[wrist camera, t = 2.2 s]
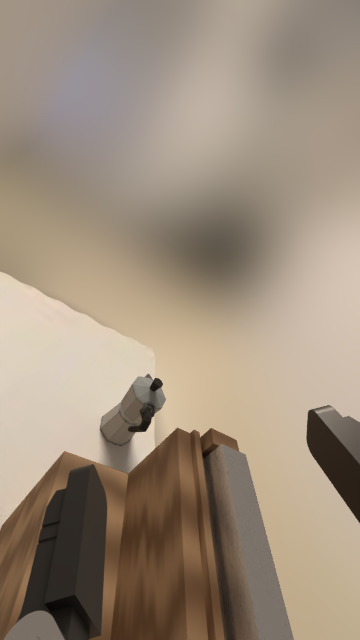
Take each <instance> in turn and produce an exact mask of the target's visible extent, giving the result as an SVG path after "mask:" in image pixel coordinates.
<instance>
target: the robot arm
mask: <svg viewBox="0 0 360 640" xmlns="http://www.w3.org/2000/svg"><path fill="white" fill-rule="evenodd" d="M307 444H308V447H309V450H310V452H311V454H312V456H313V457H314V459H315V460H316V461H317V463H318V464H319V466H320V467H321V468H322V470H323V471H324V473H325V474H326V476H327V477H328V478H329V480H330V481H331V483H332V484H333V486H334V487H335V488H336V490H337V491H338V493H339V494H340V496H341V497H342V498H343V500H344V501H345V503H346V504H347V506H348V507H349V508H350V510H351V511H352V513H353V514H354V515H355V517H356V518H357V520H358V521H359V522H360V422H358V421H356V420H355V419H353V418H351V417H349V416H347V417H344V418H343V417H342V416H341V415H340V414H339V413H338V412H337V411H336V410H335V409H334V408H333V407H332V406H330V405H327V406H324V407H320V408H316V409H312V410H309V412H308V422H307ZM106 526H107V498H106V493H105V490H104V487H103V485H102V482H101V480H100V477H99V475H98V472H97V470H96V468H95V466H94V464H90V465H86V466H82V467H79V468H75V469H71V470H70V472H69V476H68V481H67V487H66V488H65V489H61V490H57V491H56V492H55V494H54V495H53V497H52V499H51V500H50V502H49V504H48V505H47V507H46V511H45V515H44V519H43V523H42V529H41V531H40V536H39V540H38V542H39V543H38V545H37V548H36V552H35V556H34V561H33V565H32V569H31V573H30V577H29V581H28V585H27V590H26V594H25V598H24V602H23V606H22V609H21V613H20V615H19V618H18V620H17V622H16V624H15V625H14V626H13V627H12V628H11V629H10V631H9V632H8V634H7V635H6V636H5V638H4V640H89V639H91V638H95V637H98V636H101V626H102V606H103V586H104V566H105V546H106Z"/></svg>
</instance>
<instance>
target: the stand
mask: <svg viewBox="0 0 360 640" xmlns="http://www.w3.org/2000/svg"><path fill="white" fill-rule="evenodd" d="M221 444H223V445H226V446H228V447H230V448H232V449H234V450H237V451H239V449H238V445H237V441H236V440H235V439H233V438H231V437H229V436H227V435H225V434H222V433H220V432H218V431H216V430H214V429H212V428H211V429H209V430H208V431H207V432H206V433H205V434H204V435H203V436H201V437H200V434H199V432H198V431H196V430H193V431H192V432H191V433H188V432H186V431H183V430H181V429H179V428H177V429H176V430H175V431H173V433H171V434H170V435H169V436H168V437H167V438H166V439H165V440H164V441H163V442H162V443H161V444H160V445H159V446H158V447H156V448H155V449H154V450H153V451H152V452H151V453H150V454H149V455H148V456H147V457H146V458H145V459H144V460H143V461H142V462H140V463H139V464H138V465H137V466H136V467H135V468H134V469H133V470H132V471H131V472H130V473H129V474H127V473H124V472H121V471H118V470H116V469H113V468H110V467H107V466H104V465H102V464H99V463H96V462H93V461H91V460H88V459H85V458H82V457H79V456H77V455H74V454H71V453H68V452H65V451H64V452H63V453H62V455H61V456H60V457H59V458H58V459H57V461H56V462H55V463H54V464H53V465H52V467H51V468H50V469H49V470H48V471H47V472H46V474H45V475H44V476H43V477H42V478H41V480H40V481H39V482H38V483H37V484H36V486H35V487H34V488H33V489H32V490H31V492H30V493H29V494H28V495H27V496H26V498H25V499H24V500H23V501H22V502H21V504H20V505H19V506H18V507H17V508H16V509H15V511H14V512H13V513H12V514H11V515H10V517H9V518H8V519H7V520H6V521H5V523H4V524H3V526H2V528H1V530H0V640H4V638H5V636H6V635H7V634H8V632H9V631H10V629H11V628H12V627H13V626H14V625H15V624H16V622H17V620H18V618H19V615H20V613H21V609H22V606H23V602H24V598H25V594H26V590H27V585H28V581H29V577H30V573H31V569H32V565H33V561H34V556H35V552H36V548H37V545H38V543H39V542H38V540H39V536H40V531H41V529H42V523H43V519H44V515H45V511H46V507H47V505H48V504H49V502H50V500H51V499H52V497H53V495H54V494H55V492H56V491H57V490H61V489H65V488H66V487H67V481H68V476H69V472H70V470H71V469H75V468H79V467H82V466H86V465H90V464H94V466H95V468H96V470H97V472H98V475H99V477H100V480H101V482H102V485H103V487H104V490H105V493H106V498H107V526H106V546H105V566H104V586H103V606H102V626H101V636H98V637H95V638H91V639H89V640H224V631H223V623H222V615H221V607H220V598H219V590H218V582H217V574H216V566H215V557H214V549H213V541H212V533H211V524H210V516H209V508H208V500H207V492H206V483H205V475H204V467H203V459H204V458H205V457H206V456H208V455H209V454H210V453H211V452H213V451H214V450H215V449H216V448H217V447H219V446H220V445H221Z"/></svg>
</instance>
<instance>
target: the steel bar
mask: <svg viewBox="0 0 360 640" xmlns="http://www.w3.org/2000/svg"><path fill="white" fill-rule="evenodd" d="M203 467H204V475H205V483H206V492H207V500H208V508H209V516H210V524H211V533H212V541H213V549H214V557H215V566H216V574H217V582H218V590H219V598H220V607H221V615H222V623H223V631H224V640H294V639H293V635H292V631H291V627H290V623H289V619H288V616H287V612H286V608H285V604H284V600H283V597H282V593H281V589H280V585H279V581H278V577H277V574H276V570H275V566H274V562H273V558H272V554H271V551H270V547H269V543H268V539H267V535H266V531H265V527H264V524H263V520H262V516H261V512H260V508H259V505H258V501H257V497H256V493H255V489H254V485H253V481H252V478H251V474H250V470H249V466H248V462H247V458H246V455H245V454H243V453H241V452H239V451H237V450H234V449H232V448H230V447H228V446H226V445H223V444H221V445H220V446H219V447H217V448H216V449H215V450H214V451H213V452H211V453H210V454H209V455H208V456H206V457H205V458H204V459H203Z"/></svg>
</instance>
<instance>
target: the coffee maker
mask: <svg viewBox="0 0 360 640" xmlns="http://www.w3.org/2000/svg"><path fill="white" fill-rule="evenodd" d="M162 385H163V383H162V381H161V380H160V379H158V378H155V379H154V381H153V379H152V378H151V376H150V375H149V374H147V375H146V376H145V377H139V376H138V377H137V379H136V380H135V381H134V382H133V384H132V385H131V387H130V389H129V390H128V392H127V393H126V395H125V397H124V398H123V400H122V401H121V403H119V404H118V405H117V406H115V407H114V408H113V409H111V410H110V411H109V412H108V413H106V414H105V415H104V416H102V420H101V425H100V430H101V431H102V433H103V435H104V436H105V438H106V440H107V441H108V442H111V443H114V444H117V445H119V446H121V445H123V444H125V443H126V442H128V441H130V440H131V438H132V437H133V435H134V434H135V432H145V431H146V430H147V428H148V427H149V425H150V423H151V419H152V417H154V414H155V413H156V412H157V411H159V410H160V409H161V408H162V406H163V404H164V402H165V400H166V399H165V396H164V394H163V391H162V389H161V387H162Z"/></svg>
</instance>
